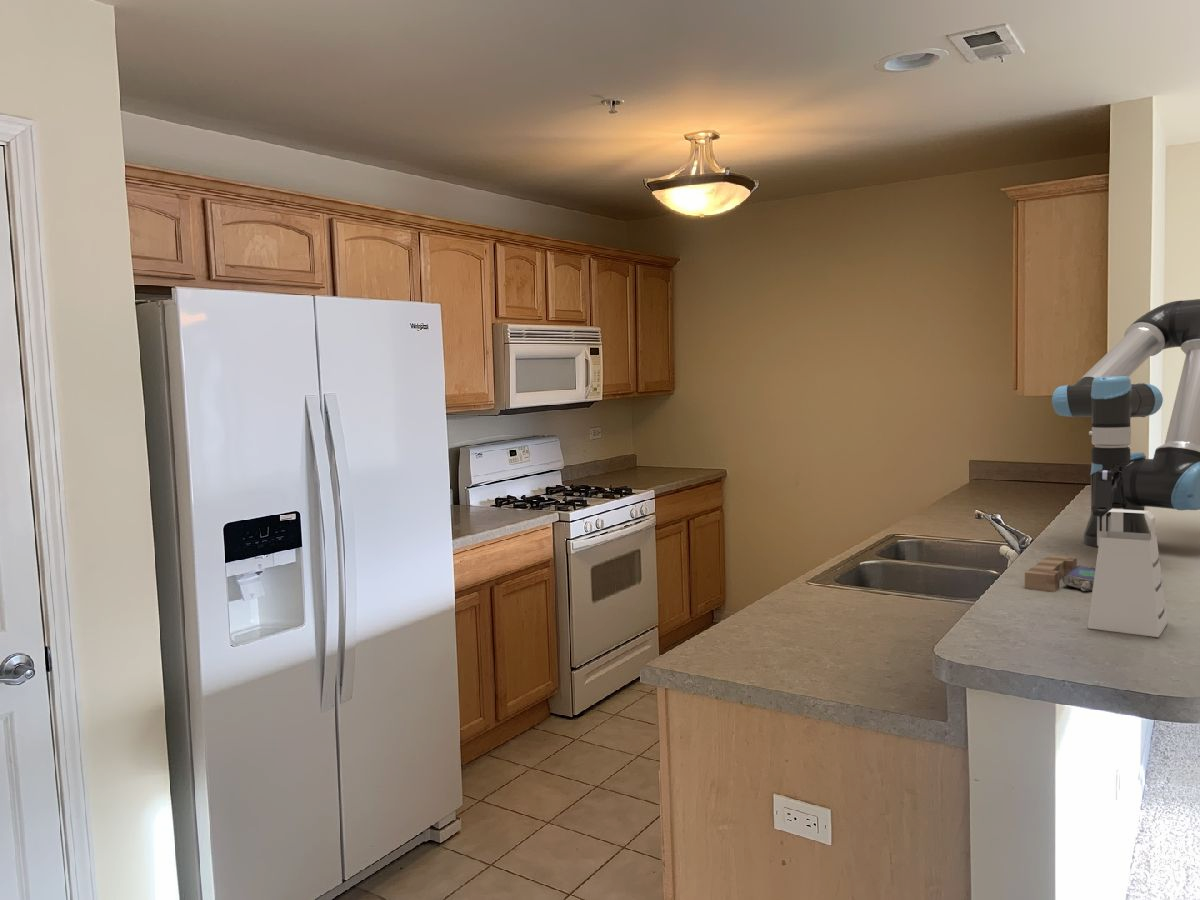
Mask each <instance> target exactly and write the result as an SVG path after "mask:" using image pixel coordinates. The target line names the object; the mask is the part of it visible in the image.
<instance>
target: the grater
mask: <svg viewBox="0 0 1200 900" xmlns="http://www.w3.org/2000/svg"><path fill="white" fill-rule="evenodd" d="M1108 512H1124V513H1144V515H1145V516H1147V517H1148V518H1149V520H1151V523H1150V524H1151V526H1150V527H1151V528H1150V529H1151V530H1150V532H1151V534H1146V533H1130V532H1115V531H1107V532H1106V514H1107V513H1108ZM1108 512H1107V513H1106V514H1105V515H1104V516H1103V517H1102V536H1101V537H1100V539H1099V547H1098V548H1097V556H1096V561H1095V563H1096V564H1095V568H1096V569H1095V576H1094V583H1093V590H1091V600H1090V607H1089V614H1088V621H1087V622H1088V623H1087V629H1091V630H1099V631H1100V630H1101V631H1106V632H1115V633H1116V632H1117V633H1121V634H1122V633H1123V634H1131V635H1137V636H1139V635H1140V636H1147V637H1155V638H1159V637H1160V636H1161V634H1162V632H1164V629H1165V628H1166V626H1167V624H1168V616H1167V607H1166V601H1165V592H1164V586H1163V585H1164V584H1163V577H1162V570H1161V562H1160V553H1159V547H1158V546H1159V545H1158V536H1157V533H1156V530H1155V527H1156V526H1155V524H1156V523H1155V521H1156V518H1155V516H1154V514H1153V513H1151V512H1150V511H1149V510H1144V511H1143V510H1123V509H1111V510H1110V511H1108Z"/></svg>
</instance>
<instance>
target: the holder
mask: <svg viewBox="0 0 1200 900" xmlns="http://www.w3.org/2000/svg"><path fill="white" fill-rule="evenodd" d="M1077 566H1078V558H1077V557H1074V556H1063V555H1048V556H1046V557H1045V558H1044V559H1042V560H1040V562H1038V563H1037V564H1035V565H1034V566H1032V567H1030V568H1029V569H1027V571H1026V570H1025V572H1024V589H1025V590H1033V591H1042V592H1050V593H1052V592H1053V593H1055V592H1056V591H1057V590H1058V589H1060V581H1061V579H1063V576H1064V575H1065V574H1067V573H1069V572H1070V571H1071V570H1073V569H1074V568H1075V567H1077Z"/></svg>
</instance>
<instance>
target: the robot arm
mask: <svg viewBox="0 0 1200 900" xmlns="http://www.w3.org/2000/svg"><path fill="white" fill-rule="evenodd" d="M1173 348H1180V350H1181V351H1182V352H1183V353H1184V354H1185V358H1184V361H1183V366H1182V369H1181V370H1182V371H1181V375H1180V379H1179V383H1178V387H1177V391H1176V396H1175V399H1174V402H1173V406H1172V411H1171V415H1170V420H1169V424H1168V428H1167V432H1166V435H1165V436H1166V437H1165V440H1164V443H1163V444H1162V445H1160V446H1158V447H1156V448H1155V451H1154V454H1153V458H1146V454H1145V453H1144V452H1131V448H1130V447H1129V446H1130V444H1131V443H1132V438H1131V437H1132V435H1131V434H1132V427H1131V419H1132V418H1146V417H1148V416H1152V415H1154V414H1156V413H1157V412H1158V411H1160V409H1161V407H1163V406H1162V405H1163V403H1164V398H1163V394H1162V391H1161V390H1160V389H1159V388H1158V387H1157V386H1155V385H1153V384H1151V383H1145V382H1141V383H1140V382H1139V383H1131V382H1132V381H1131V379H1130V377H1131V376H1132V374H1133V373H1135V372H1136V370H1138V368H1139V367H1141V365H1143V363H1145V362H1146V361H1147V360H1148V359H1149V357H1153V356H1156V355H1158V354H1159V353H1161V352H1162V351H1163V350H1166V349H1173ZM1051 405H1052V408H1053V411H1054V412H1055V414H1057V415H1058V416H1060V417H1070V418H1071V417H1072V418H1079V417H1080V418H1091V430H1089V431H1088V435H1089V436H1091V444H1092V445H1094V446H1093V447H1091V454H1090V455H1091V456H1090V457H1091V458H1090V460H1091V465H1090V466H1091V468H1090V473H1089V476H1090V517H1089V518H1088V521H1087V523H1086V527H1085V530H1084V532H1083V535H1082V540H1083V541H1082V543H1083V544H1084V545H1085V546H1087V547H1091V548H1097V549H1098V547H1099V539H1100V537H1101V536H1102V517H1103V516H1104V515H1105V514H1106V513H1107V512H1108V511H1110V510H1111V509H1123V510H1143V511H1145V507H1148V508H1161V509H1172V510H1177V511H1199V510H1200V298H1196V299H1187V300H1186V299H1185V300H1174V301H1170V302H1166V303H1163V304H1162V305H1158V306H1157V307H1155V308H1153V309H1151V310H1150V311H1148V312H1146V313H1145V314H1143V315H1142V316H1140V317H1139V318H1137V319H1136V320H1135V321H1134V322H1133V323H1131V324H1130V326H1128V327H1127V328H1126V330H1125V332H1124V335H1123V338H1121V339H1120V340H1119V341H1118V342H1117V343H1116V344H1115V345H1114V346H1113V347H1112V348H1111V349H1110V350H1109V351H1108V352H1107V353H1106V354H1105V355H1103V357H1101V359H1099V360H1098V361H1097V362H1096V363H1095V364H1094V365H1093V366H1092V367H1091V368H1090V369H1089V370H1088V371H1087V372H1086V373H1085V374H1083V376H1082V377H1081V378H1079V380H1077V381H1076V382H1075V383H1073V385H1070V384H1066V385H1060V386H1058V387H1057V388H1055V390H1054V391H1053V394H1052V397H1051ZM1149 527H1150V526H1149V525H1148V522H1147V519H1146V514H1144V513H1124V512H1108V513H1107V514H1106V532H1107V531H1115V532H1130V533H1146V534H1151V530H1150V528H1149Z"/></svg>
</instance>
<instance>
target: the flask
mask: <svg viewBox="0 0 1200 900" xmlns="http://www.w3.org/2000/svg"><path fill="white" fill-rule="evenodd" d="M1095 569H1096V567H1095V568H1094V567H1093V566H1091V567H1090V566H1089V567H1088V566H1087V565H1080V564H1079V565H1077V567H1075V568H1074V569H1073V570H1071V571H1070V572H1069V573H1067V574H1065V575H1064V576H1063V578H1062V582H1063V583H1064V584H1065V585H1066V586H1069V587H1072V588H1076V589H1080V590H1081V591H1083V592H1085V591H1087V592H1088V591H1093V583H1094V576H1095Z"/></svg>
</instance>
